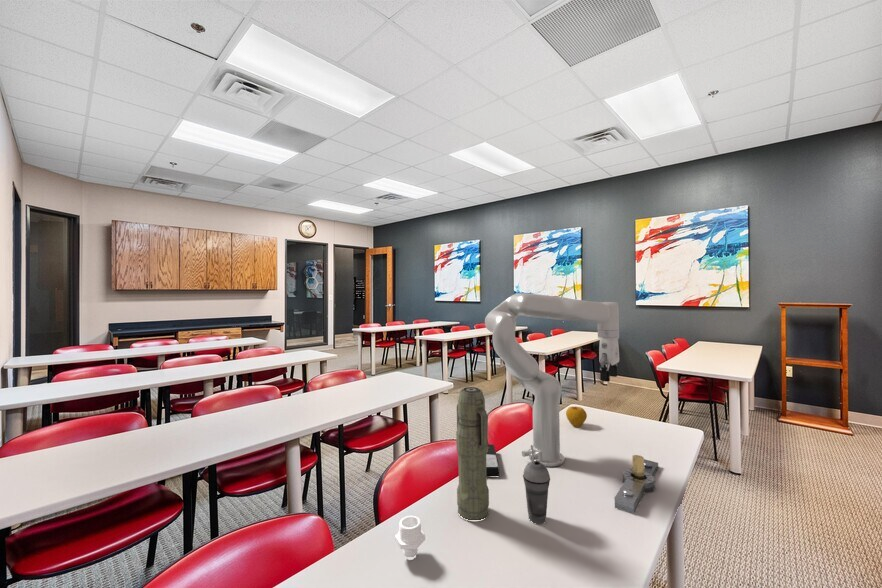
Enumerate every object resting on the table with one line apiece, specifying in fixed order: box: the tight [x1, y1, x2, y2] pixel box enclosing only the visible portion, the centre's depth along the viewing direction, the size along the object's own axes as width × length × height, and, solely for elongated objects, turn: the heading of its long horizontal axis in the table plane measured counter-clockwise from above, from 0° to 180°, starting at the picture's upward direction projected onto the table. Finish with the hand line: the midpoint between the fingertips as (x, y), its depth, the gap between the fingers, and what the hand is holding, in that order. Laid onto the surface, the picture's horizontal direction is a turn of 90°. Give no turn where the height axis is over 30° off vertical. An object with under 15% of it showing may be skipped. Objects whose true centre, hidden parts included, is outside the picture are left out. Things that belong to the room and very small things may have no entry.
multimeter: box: [486, 444, 500, 477], centre depth 132 cm, size 13×19×5 cm
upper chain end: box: [614, 468, 656, 515], centre depth 111 cm, size 22×9×4 cm, turn 140°
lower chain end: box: [622, 458, 659, 494], centre depth 121 cm, size 22×9×2 cm, turn 140°
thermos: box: [455, 386, 490, 520], centre depth 103 cm, size 9×12×35 cm
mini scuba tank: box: [522, 444, 551, 525], centre depth 100 cm, size 7×7×20 cm
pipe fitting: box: [394, 515, 426, 557], centre depth 87 cm, size 6×7×8 cm
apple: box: [565, 406, 588, 428], centre depth 168 cm, size 9×9×9 cm
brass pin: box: [631, 454, 645, 480], centre depth 116 cm, size 3×3×9 cm
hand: (608, 378), depth 140 cm, fingers open, 9 cm apart
